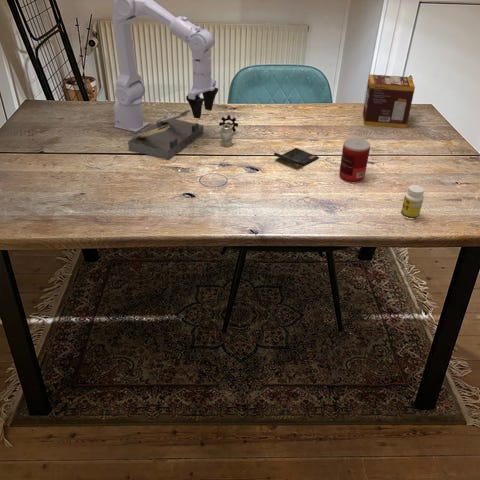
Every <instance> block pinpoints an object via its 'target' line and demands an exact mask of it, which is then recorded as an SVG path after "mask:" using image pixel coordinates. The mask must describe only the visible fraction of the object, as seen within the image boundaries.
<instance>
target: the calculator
mask: <svg viewBox="0 0 480 480" xmlns="http://www.w3.org/2000/svg"><path fill="white" fill-rule="evenodd" d="M273 156H275V157H278V158H280V159H282V160H283V161H287V162H289V163H290V164H291V163H292V164H294V165H296V166H300V167H303V168H304V167H305V166H307V165H309V164H312V163H313V162H315V161H317V160H319V159H320V157H319V156H317V155H315V154H313V153H310V152H308V151H305V150H303V149H300V148H297V147H295V148H293V149H291V150H289V151H286V152H285V153H282V154H281V153H278V152H274V153H273Z"/></svg>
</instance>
